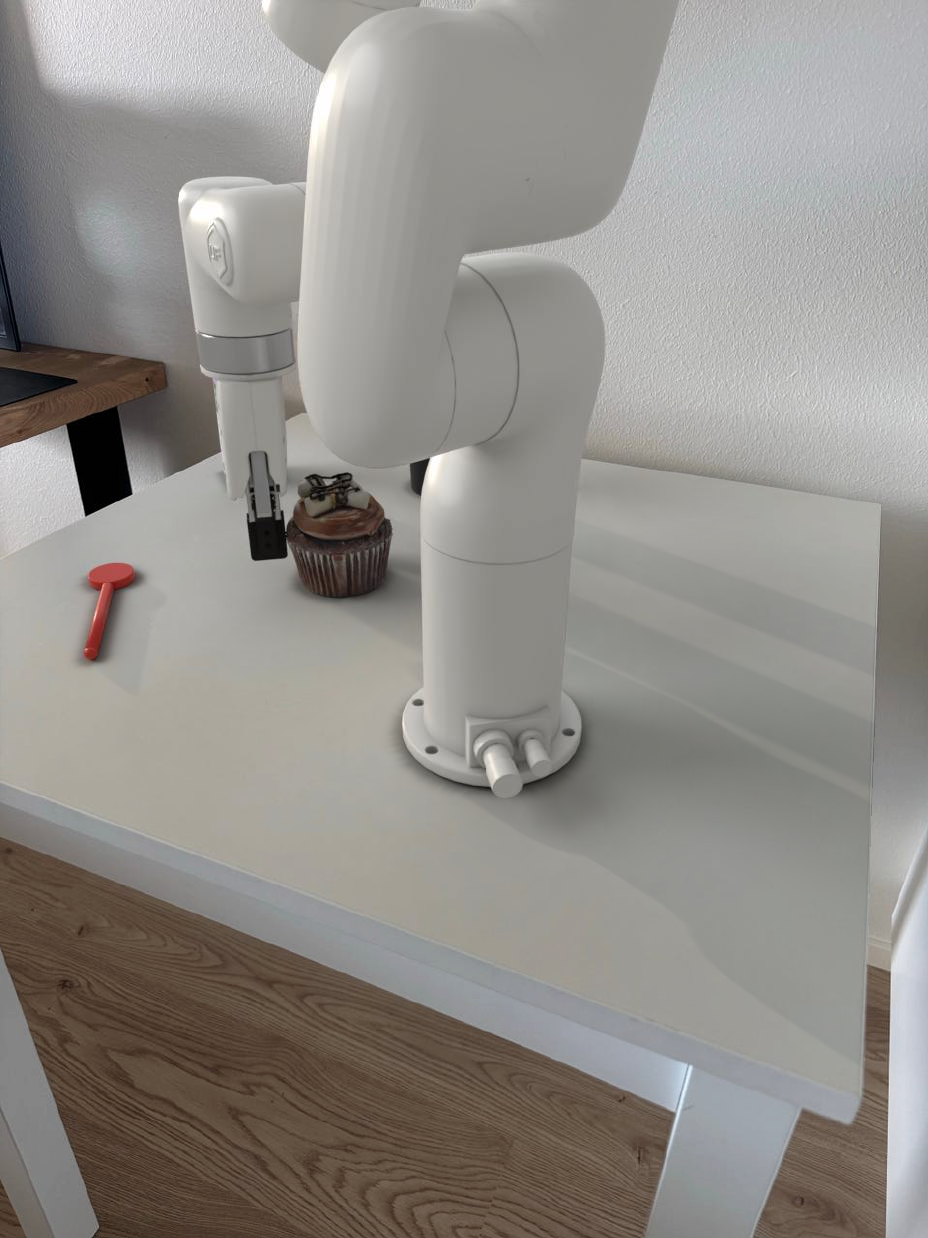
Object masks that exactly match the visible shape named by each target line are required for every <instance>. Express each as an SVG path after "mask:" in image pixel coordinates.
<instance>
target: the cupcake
mask: <svg viewBox="0 0 928 1238" xmlns="http://www.w3.org/2000/svg"><path fill="white" fill-rule="evenodd" d="M353 478H354V476H353V474H352V473H351V472H348V471H347V472H341V473H336V474H333V475H331V476H326V475H325V476H324V475H320V474H317V473H311V474H308V475H307V476H305V477H304V479H305V480H302V481H301V482H299V483H298V485H297V495H298V496H299V497H300V498H299V499H298V500H297V501H296V503H295V504H294V506H293V511H292V516H291V517H290V519H288V522H287V524H286V527H285V531H286V541H287V546H288V547H289V549H290V552H291V553H292V557H293V560H294V562H295V565H296V569H297V573H298V577H299V580H300V582H301V583H302V585H303V586H304V587H305V589H307V590H308V591H309V592H311V593H312V594H315V595H317V596H321V597H327V598H339V599H343V598H348V597H357V596H361V595H366V594H368V593H370V592H372V591H374V590H377V589H378V588H379V587H380V586H381V585H382V584H383V582H384V581H385V579H386V573H387V568H388V561H389V557H390V556H389V555H390V549H391V544H392V540H393V535H394V533H393V529H394V528H393V525H392V522H391V519H389V518H387V517H385V516H386V515H385V509H384V507H383V506H382V505H381V504H380V503H379V502H378V500H376V498H375V497H374V496H373V495H372V494H371V492H369V491H367V490H365V489H363V488H362V486H361V485H360V484H359V482H357V481H355V480H354V479H353ZM325 480H332V481H331V483H330V484H326V482H325Z"/></svg>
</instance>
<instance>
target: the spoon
mask: <svg viewBox="0 0 928 1238" xmlns="http://www.w3.org/2000/svg"><path fill="white" fill-rule="evenodd" d="M135 578H136V574H135V569H134V567H133V566H132V565H131V564H128V563H126V562H109V563H104V564H101V565H98V566H96V567H94V568H92V569H91V570H89V572H88V573H87V580H88V583H89V586H90V587H91V588H92V589H95V590H99V591H100V593H99V596H98V600H97V604H96V607H95V610H94V614H93V618H92V621H91V624H90V629H89V632H88V636H87V640H86V643H85V647H84V650H83V656H84V658H86V659H87V660H95V658H97V657H98V653H99V649H100V645H101V642H102V638H103V634H104V629H105V625H106V621H107V618H108V614H109V610H110V605H111V602H112V598H113V595H114V590H117V589H123V588H124V587H127V586H128V585H130V584H131V583H133V582H134V580H135Z"/></svg>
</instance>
